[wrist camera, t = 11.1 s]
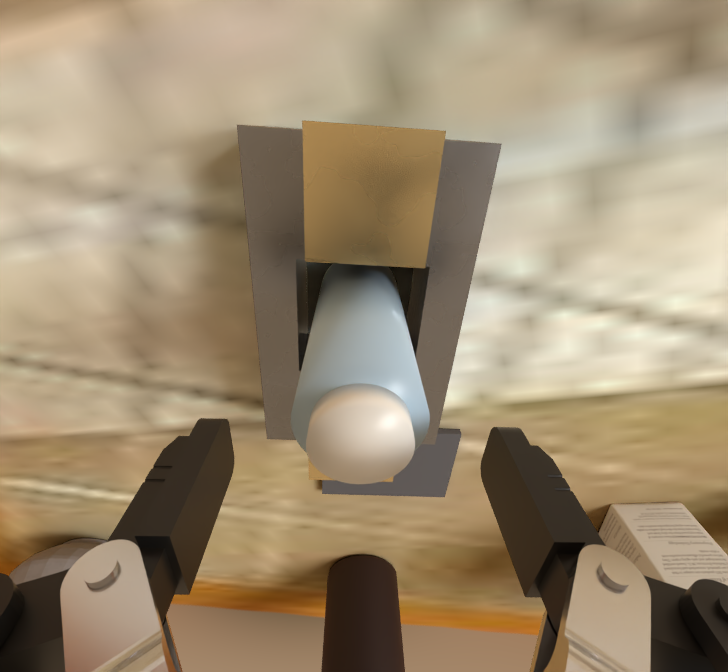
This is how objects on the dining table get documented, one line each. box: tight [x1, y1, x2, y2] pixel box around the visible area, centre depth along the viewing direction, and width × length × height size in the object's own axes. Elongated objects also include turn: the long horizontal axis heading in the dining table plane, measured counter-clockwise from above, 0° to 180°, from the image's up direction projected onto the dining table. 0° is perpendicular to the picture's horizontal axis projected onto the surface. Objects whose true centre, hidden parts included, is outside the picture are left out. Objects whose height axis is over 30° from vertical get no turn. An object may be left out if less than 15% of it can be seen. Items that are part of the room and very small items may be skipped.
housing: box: [237, 125, 501, 445], centre depth 19 cm, size 16×10×4 cm, turn 176°
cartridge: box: [291, 263, 430, 484], centre depth 16 cm, size 4×4×12 cm
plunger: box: [302, 121, 446, 268], centre depth 14 cm, size 4×4×5 cm
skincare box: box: [598, 502, 728, 590], centre depth 26 cm, size 8×7×16 cm
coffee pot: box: [9, 538, 106, 585], centre depth 26 cm, size 21×12×15 cm, turn 124°
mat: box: [322, 429, 461, 497], centre depth 28 cm, size 7×10×1 cm
